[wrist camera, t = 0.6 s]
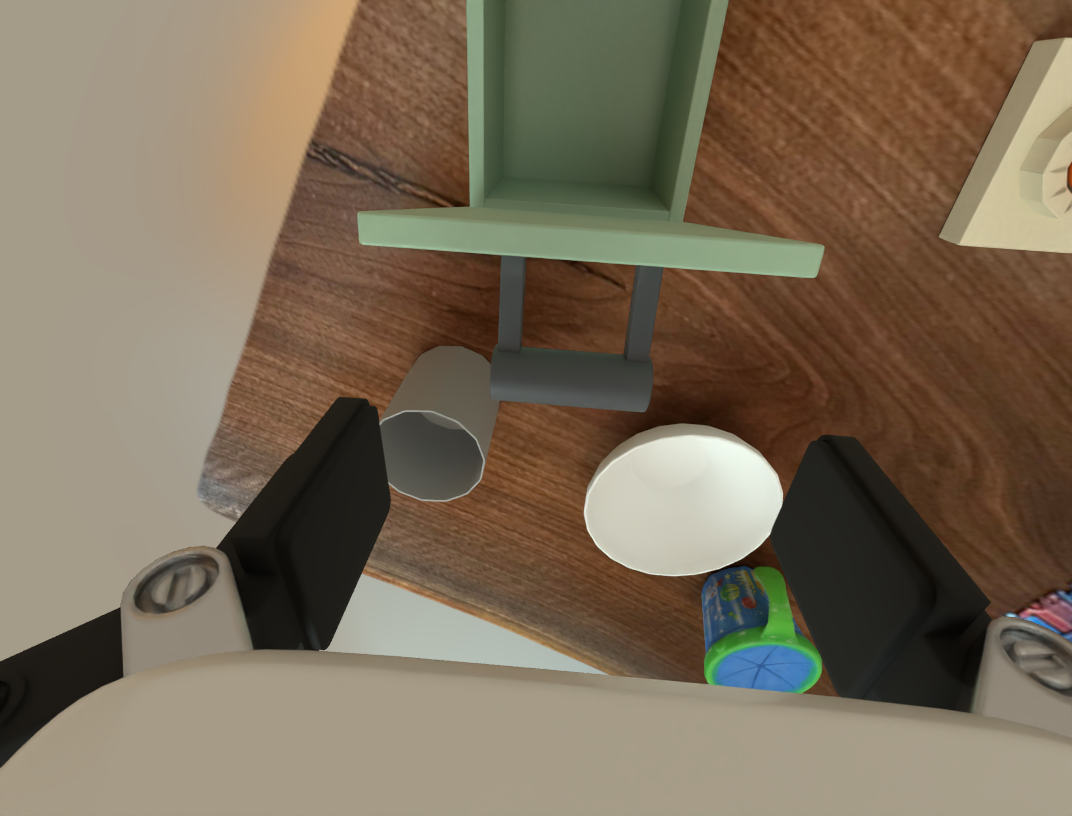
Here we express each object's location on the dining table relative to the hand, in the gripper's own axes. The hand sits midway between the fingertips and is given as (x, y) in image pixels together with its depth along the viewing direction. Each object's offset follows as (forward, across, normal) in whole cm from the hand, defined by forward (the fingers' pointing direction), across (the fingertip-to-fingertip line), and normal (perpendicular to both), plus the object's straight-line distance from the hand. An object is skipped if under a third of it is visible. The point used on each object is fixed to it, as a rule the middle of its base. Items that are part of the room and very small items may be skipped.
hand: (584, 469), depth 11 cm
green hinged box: (+28, 0, -9) cm, 30 cm away
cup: (+29, +9, +15) cm, 34 cm away
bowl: (+29, -11, +22) cm, 37 cm away
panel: (+28, -30, -5) cm, 41 cm away
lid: (+12, 0, -3) cm, 12 cm away
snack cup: (+29, -22, +38) cm, 53 cm away
